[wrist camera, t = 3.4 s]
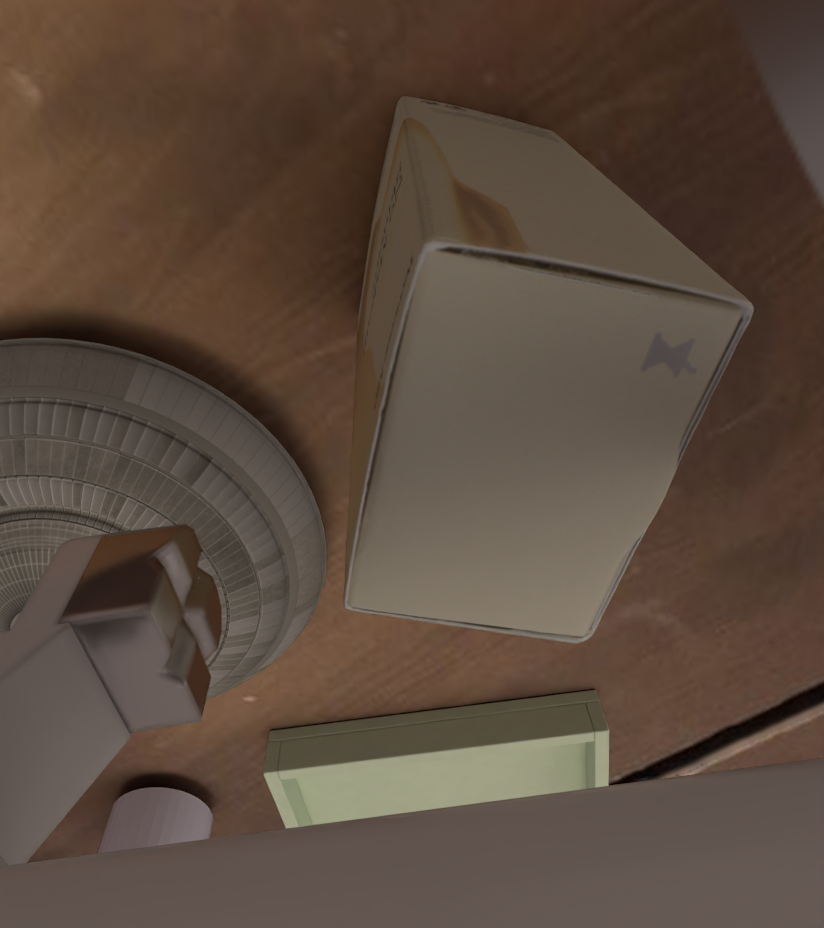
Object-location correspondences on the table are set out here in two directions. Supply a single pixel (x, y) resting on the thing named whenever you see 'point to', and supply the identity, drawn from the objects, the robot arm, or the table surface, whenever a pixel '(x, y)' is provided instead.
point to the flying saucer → (155, 487)
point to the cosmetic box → (517, 378)
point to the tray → (437, 758)
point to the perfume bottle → (155, 820)
